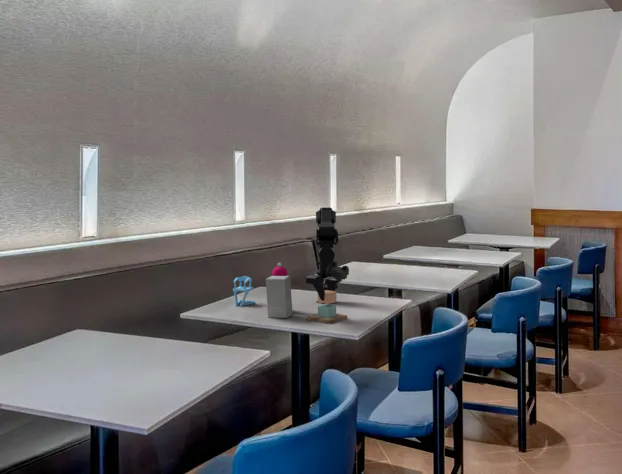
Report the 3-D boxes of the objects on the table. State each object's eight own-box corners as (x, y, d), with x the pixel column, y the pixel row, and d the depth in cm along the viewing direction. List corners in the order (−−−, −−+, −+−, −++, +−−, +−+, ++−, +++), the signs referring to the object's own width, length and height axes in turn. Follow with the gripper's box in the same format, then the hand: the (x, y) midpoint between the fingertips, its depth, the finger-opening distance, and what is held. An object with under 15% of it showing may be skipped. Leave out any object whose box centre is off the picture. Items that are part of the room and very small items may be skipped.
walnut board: (306, 319, 230) (306, 316, 230) (324, 314, 239) (324, 311, 238) (329, 323, 223) (329, 320, 223) (347, 318, 231) (347, 315, 231)
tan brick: (318, 302, 230) (317, 292, 229) (326, 300, 234) (326, 290, 233) (328, 304, 227) (328, 293, 226) (336, 301, 230) (336, 291, 230)
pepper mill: (292, 310, 247) (291, 261, 245) (284, 313, 240) (283, 264, 238) (276, 308, 250) (276, 261, 248) (268, 312, 243) (267, 263, 241)
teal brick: (317, 316, 230) (317, 305, 230) (326, 313, 234) (326, 303, 234) (328, 318, 227) (327, 307, 227) (336, 315, 231) (336, 305, 231)
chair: (230, 305, 257) (229, 277, 256) (239, 301, 265) (239, 274, 263) (246, 307, 254) (245, 278, 253) (255, 303, 262) (254, 275, 260)
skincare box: (292, 315, 238) (292, 275, 236) (286, 319, 231) (285, 278, 230) (273, 313, 241) (272, 274, 239) (265, 317, 234) (265, 277, 232)
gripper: (327, 263, 216) (328, 306, 218) (358, 257, 230) (358, 298, 232) (304, 261, 223) (304, 302, 225) (335, 255, 238) (335, 294, 239)
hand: (326, 299), depth 230 cm, fingers closed on tan brick, 5 cm apart
